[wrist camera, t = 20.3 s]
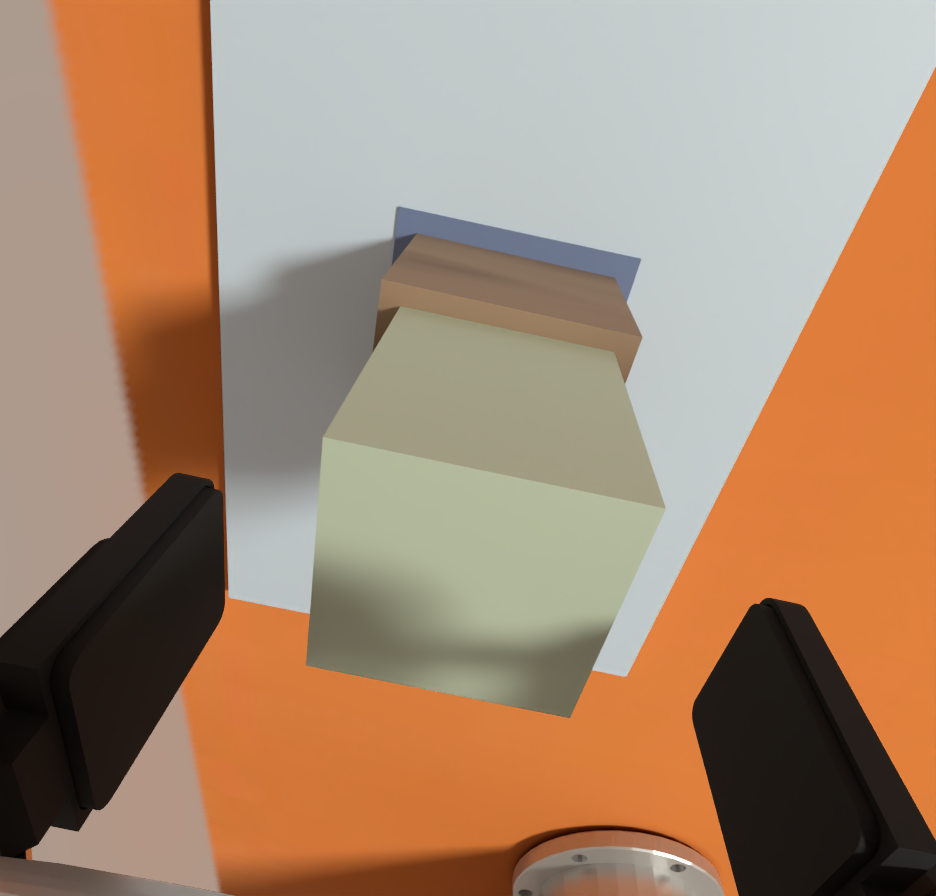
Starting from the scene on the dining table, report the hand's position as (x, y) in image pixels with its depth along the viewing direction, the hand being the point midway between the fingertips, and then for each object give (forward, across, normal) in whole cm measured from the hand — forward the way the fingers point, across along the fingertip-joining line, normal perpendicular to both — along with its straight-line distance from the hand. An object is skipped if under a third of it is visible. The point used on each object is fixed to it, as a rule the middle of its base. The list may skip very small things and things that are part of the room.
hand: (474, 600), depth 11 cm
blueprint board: (+11, 0, -1) cm, 11 cm away
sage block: (+6, 0, -1) cm, 6 cm away
